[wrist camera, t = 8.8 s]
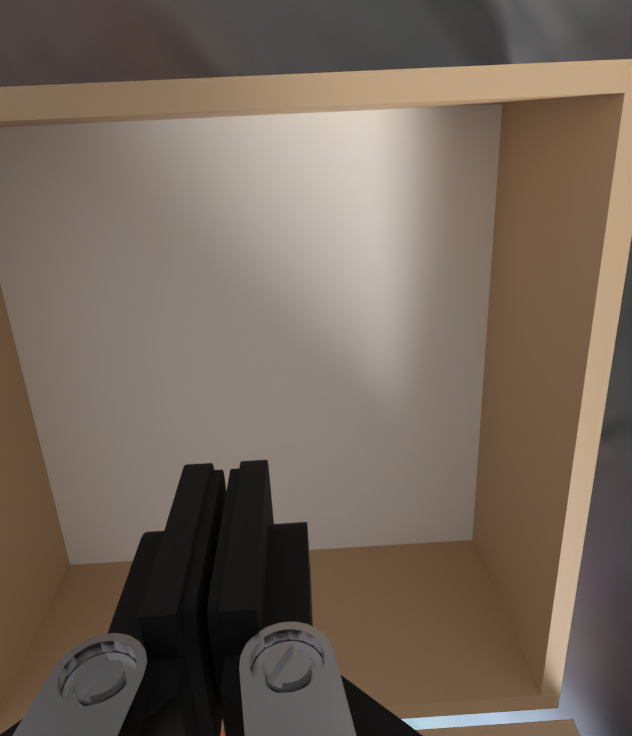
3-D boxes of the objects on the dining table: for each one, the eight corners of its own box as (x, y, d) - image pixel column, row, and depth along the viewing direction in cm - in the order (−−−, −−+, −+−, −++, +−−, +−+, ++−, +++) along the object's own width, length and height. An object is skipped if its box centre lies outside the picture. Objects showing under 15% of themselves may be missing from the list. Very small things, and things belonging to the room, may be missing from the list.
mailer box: (-54, 108, 19) (-277, 99, 11) (516, 83, 19) (659, 57, 12) (63, 567, 26) (-29, 748, 18) (481, 541, 26) (558, 708, 19)
